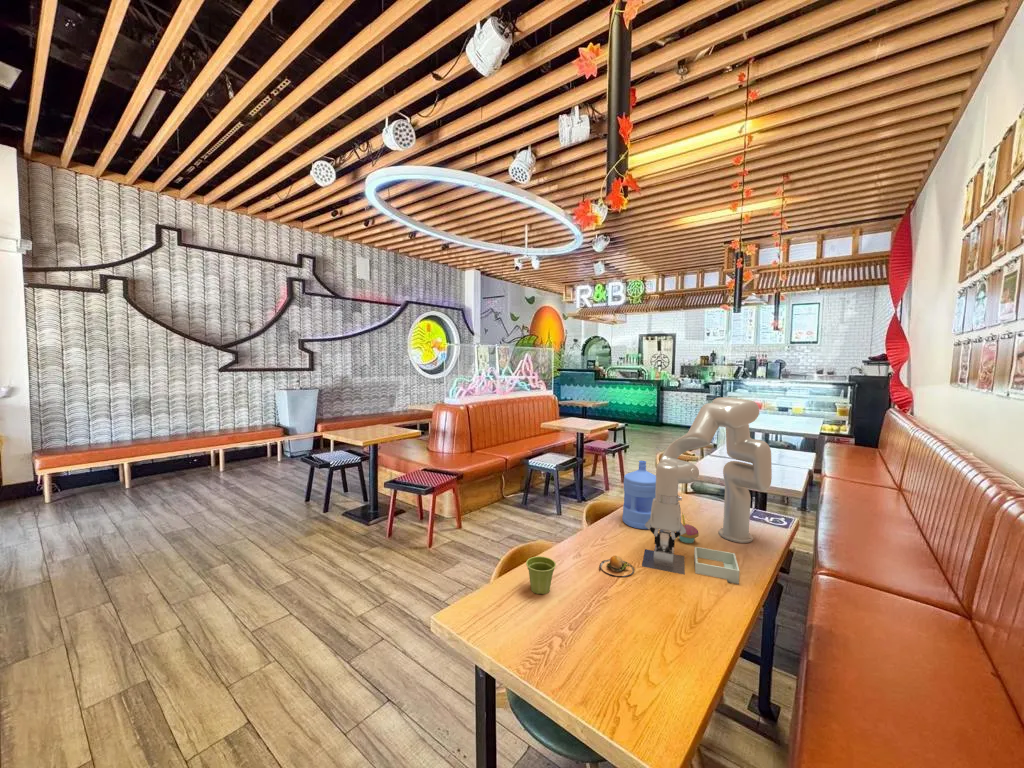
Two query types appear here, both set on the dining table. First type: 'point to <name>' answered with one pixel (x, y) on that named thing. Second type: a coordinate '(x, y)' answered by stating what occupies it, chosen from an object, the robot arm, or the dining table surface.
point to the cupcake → (688, 533)
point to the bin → (726, 572)
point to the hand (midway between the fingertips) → (664, 546)
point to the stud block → (677, 565)
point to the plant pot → (540, 573)
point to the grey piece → (664, 549)
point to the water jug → (638, 496)
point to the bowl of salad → (616, 565)
